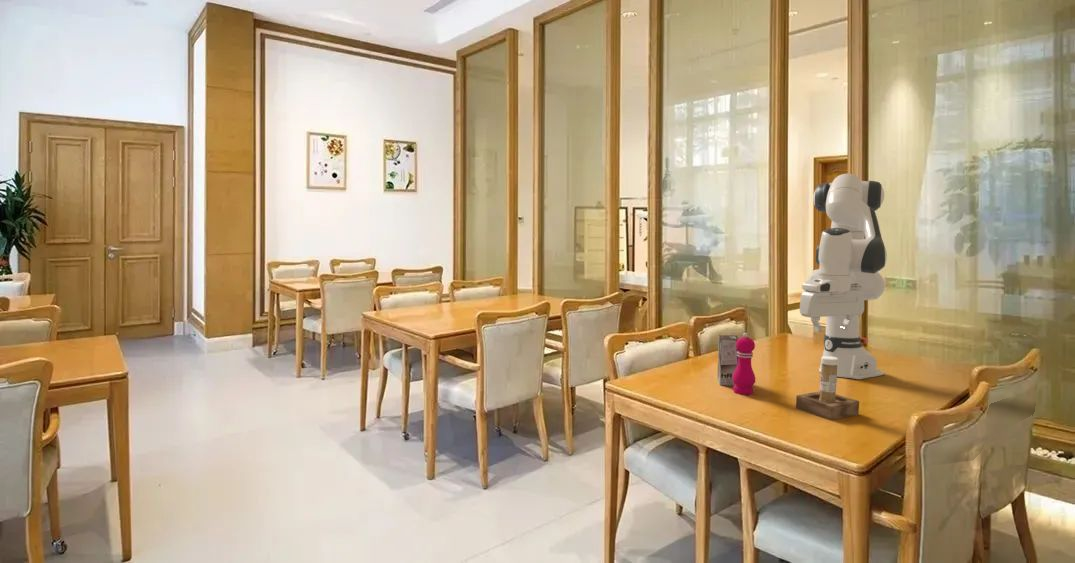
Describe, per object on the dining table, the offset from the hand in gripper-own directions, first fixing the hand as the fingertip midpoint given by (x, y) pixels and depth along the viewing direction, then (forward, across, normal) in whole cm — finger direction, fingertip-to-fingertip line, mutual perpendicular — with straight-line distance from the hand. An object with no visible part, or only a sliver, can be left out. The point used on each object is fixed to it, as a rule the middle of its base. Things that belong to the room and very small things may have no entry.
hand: (831, 330), depth 177 cm
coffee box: (+25, +10, -36) cm, 45 cm away
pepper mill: (+25, +12, -24) cm, 36 cm away
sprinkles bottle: (+22, 0, 0) cm, 22 cm away
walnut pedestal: (+24, 0, 0) cm, 24 cm away
